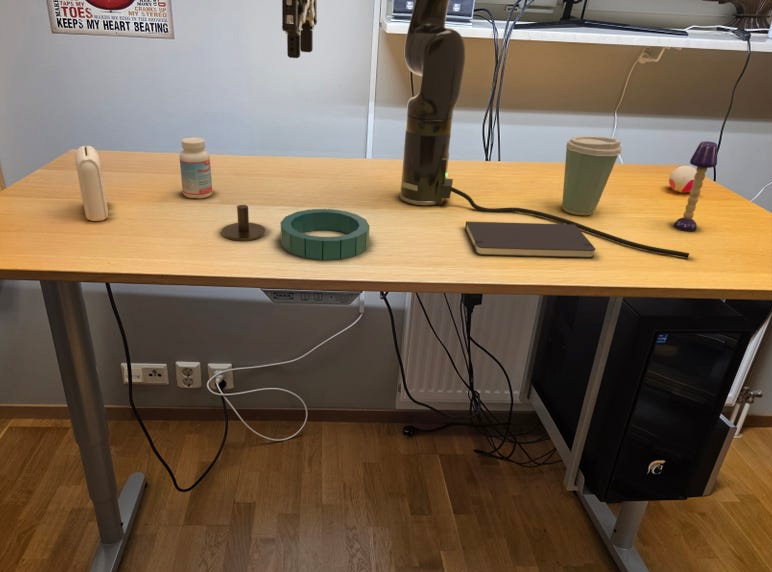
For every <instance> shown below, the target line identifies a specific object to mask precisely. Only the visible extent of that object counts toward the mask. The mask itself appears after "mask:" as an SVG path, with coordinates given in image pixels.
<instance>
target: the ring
mask: <svg viewBox="0 0 772 572" xmlns="http://www.w3.org/2000/svg"><path fill="white" fill-rule="evenodd" d="M279 225H280V243H281V247H282V248H283V249H284V250H285V251H286V252H288V253H290V254H291V255H294V256H298V257H301V258H304V259H311V260H318V261H322V260H323V261H332V260H333V261H334V260H343V259H348V258H351V257H355V256H358V255H360V254H361V253H363V252H365V251H366V250H367V248H368V246H369V245H370V244H369V243H370V242H369V240H370V224H369V222H368V221H367V219H366V218H364V217H363V216H360V215H359V214H356V213H353V212H349V211H346V210H341V209H333V208H332V209H331V208H311V209H304V210H299V211H295V212H293V213H291V214H288V215H286V216H284V218H283V219H282V220H281V221H280V223H279ZM311 231H312V232H313V231H334V232H340V233H343V234H342V235H338V236H318V235H310V234H306V233H308V232H311Z"/></svg>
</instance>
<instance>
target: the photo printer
mask: <svg viewBox="0 0 772 572" xmlns="http://www.w3.org/2000/svg"><path fill="white" fill-rule="evenodd" d="M74 156H75V159H74V160H75V167H76V172H77V173H76V174H77V178H78V183H79V189H80V194H81V199H82V205H83V209H84V214H85V217H86V219H87V220H90V222H91V221H93V222H98V221H100V222H101V221H104V220H106V219H107V218H108V217H109V206H108V201H107V196H106V190H105V184H104V183H105V182H104V179H103V172H102V171H103V170H102V164H101V159H100V155H99V153H98V151H97V150H96V149H95V147H93V146H91V145H82V146H80V147H79V148H78V149H77V150H76V152H75V155H74Z"/></svg>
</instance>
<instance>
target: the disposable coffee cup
mask: <svg viewBox="0 0 772 572" xmlns="http://www.w3.org/2000/svg"><path fill="white" fill-rule="evenodd" d="M565 148H566V150H565V162H564V163H565V164H564V177H563V190H562V202H561V203H562V204H561V205H562V210H564V212H566V213H569V214H571V215H577V216H590V215H593V214H594V212H595V211H596V209H597V207H598V205H599V202H600V201H601V197H602V195H603V192H604V191H605V188H606V185H607V183H608V180H609V178H610V176H611V173H612V171H613V168H614V167H615V164H616V161H617V159H618V156H619V155H621V153H622V147H621V140H620V139H617V138H614V137H607V136H596V135H579V136H573V137H572V138H570V139H569V140H568V141H567V142H566V146H565Z"/></svg>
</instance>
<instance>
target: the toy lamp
mask: <svg viewBox="0 0 772 572" xmlns="http://www.w3.org/2000/svg"><path fill="white" fill-rule="evenodd" d="M689 164H690V165H691V166H694V167H696V171H697V173H696V174H695V176H694V181H693V184H692V189H691V191H689V192H690V193H689V196H688V198H687V204H685V211H684V212H683V216H682V217H680V218H677V220H675V222H674V223H673V227H674V228H675V229H677V230H679V231H684V232H695V231H696V230H697V229H698V225H697V222H696V221H695V220H694V219H693V218H694V214H695V213H694V212H695V211H696V207H697V203H698V202H699V196H700V195H701V189H702V188H703V186H704V185H703V184H704V183H703V181H704V180H705V178H706V173H707V171H708V169H711V168H715V167H716V166H717V164H718V143H716V142H715V141H709V140H708V141H701V142H700V143H699V144H698V146H697V148H696V149H695V151H694V153H693V154H692V156H691V158H690V160H689Z"/></svg>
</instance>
